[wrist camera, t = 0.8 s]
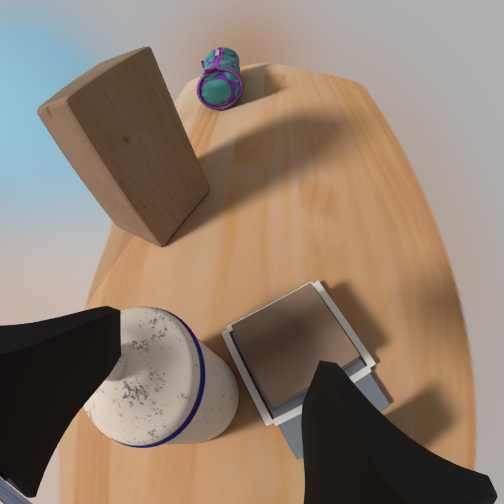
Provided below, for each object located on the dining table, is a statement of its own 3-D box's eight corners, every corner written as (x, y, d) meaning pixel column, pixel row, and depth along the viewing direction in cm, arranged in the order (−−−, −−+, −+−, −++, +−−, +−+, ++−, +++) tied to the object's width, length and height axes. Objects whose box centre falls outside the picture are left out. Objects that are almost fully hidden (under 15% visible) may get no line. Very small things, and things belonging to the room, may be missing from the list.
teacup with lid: (237, 340, 24) (180, 268, 15) (248, 444, 18) (183, 454, 9) (122, 353, 25) (36, 299, 16) (121, 441, 20) (19, 423, 10)
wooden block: (163, 249, 32) (64, 99, 16) (116, 227, 36) (34, 110, 20) (212, 189, 36) (151, 43, 20) (161, 177, 40) (101, 61, 24)
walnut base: (355, 362, 20) (360, 355, 18) (276, 408, 19) (271, 405, 17) (311, 296, 24) (310, 282, 22) (239, 335, 24) (230, 325, 22)
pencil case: (208, 83, 62) (197, 50, 54) (243, 74, 60) (233, 41, 53) (204, 118, 49) (188, 74, 42) (250, 106, 48) (237, 61, 40)
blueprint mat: (397, 399, 18) (398, 398, 17) (287, 463, 17) (286, 463, 17) (316, 280, 25) (316, 278, 25) (221, 331, 25) (219, 329, 24)
